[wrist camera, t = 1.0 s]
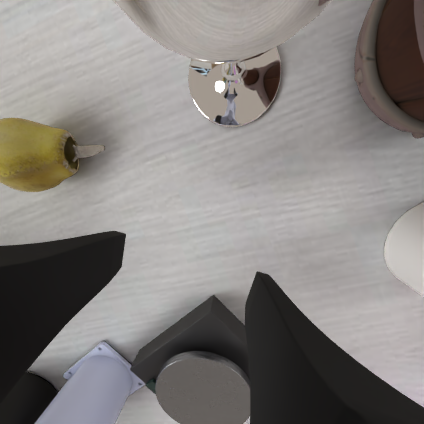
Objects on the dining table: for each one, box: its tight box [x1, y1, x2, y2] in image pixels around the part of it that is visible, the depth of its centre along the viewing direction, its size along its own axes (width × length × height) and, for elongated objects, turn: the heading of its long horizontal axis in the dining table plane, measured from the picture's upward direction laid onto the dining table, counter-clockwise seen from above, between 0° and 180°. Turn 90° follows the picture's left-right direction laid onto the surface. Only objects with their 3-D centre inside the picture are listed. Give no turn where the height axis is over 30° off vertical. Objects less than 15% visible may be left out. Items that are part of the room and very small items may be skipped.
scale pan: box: [155, 351, 250, 424], centre depth 20 cm, size 10×10×1 cm
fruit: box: [0, 118, 105, 192], centre depth 17 cm, size 6×6×10 cm
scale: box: [130, 295, 250, 394], centre depth 23 cm, size 13×12×3 cm
